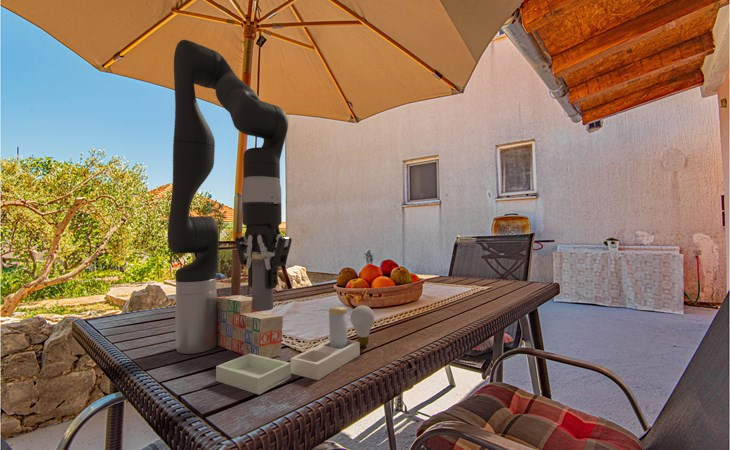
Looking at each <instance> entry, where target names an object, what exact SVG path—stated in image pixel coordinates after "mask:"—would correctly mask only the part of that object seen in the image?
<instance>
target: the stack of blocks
mask: <svg viewBox="0 0 730 450" xmlns="http://www.w3.org/2000/svg"><path fill="white" fill-rule="evenodd" d="M283 326H284V315H282V314H277V313H273V312H268V311H254V310H252V296H244V295H240V294H239V295H237V294H236V295H235V294H234V295H227V296H217V346H219V347H221V348H224V349H226V350H229V351H233V352H235V353H237V354H241V355H242V356H244V355H246V354H249V353H250V354H254V355H259V356H263V357H267V358H271V359H273V358H275V357H279V356H282V341H283Z"/></svg>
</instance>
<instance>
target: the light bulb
mask: <svg viewBox="0 0 730 450" xmlns="http://www.w3.org/2000/svg"><path fill="white" fill-rule="evenodd" d="M350 322H351V325H352V326H353V328H354V330H355V333H356V336H357V342H360V347H362V348H365V347H366V346H367V345H368V344H369V340H370V338H369V335H370V333H371V329H372V327H373V324H374V322H375V312H374V311H373V310H372V308H370V307H369V306H367V305H358V306H356V307H355V308H354V309H353V310H352V311H351V314H350Z"/></svg>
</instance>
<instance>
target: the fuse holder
mask: <svg viewBox="0 0 730 450" xmlns="http://www.w3.org/2000/svg"><path fill="white" fill-rule="evenodd" d="M360 348H361V346H360V342H358V340H357V341H356V340H351V339H350V340H349V339H348V346H347V347H345V348H343V349H338V348H333V347H330V339H329V340H327V341H324V342H323V343H320V344H318V345H316V346H314V347H312V348H310V349H307V350H305V351H303V352H301V353H299V354H297V355H295V356H292V357H291V358H290V363H291V375H296V376H301V377H304V378H308V379H311V380H316V381H319V380H321V379H323V378H324V377H326V376H328V375H330V374H331V373H333V372H334V371H336V370H337V369H339V368H341V367H342V366H344V365H346V364H348V363H349V362H351V361H352V360H354V359H356V358H358V357H359V356H360V355H361V350H360Z"/></svg>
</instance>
